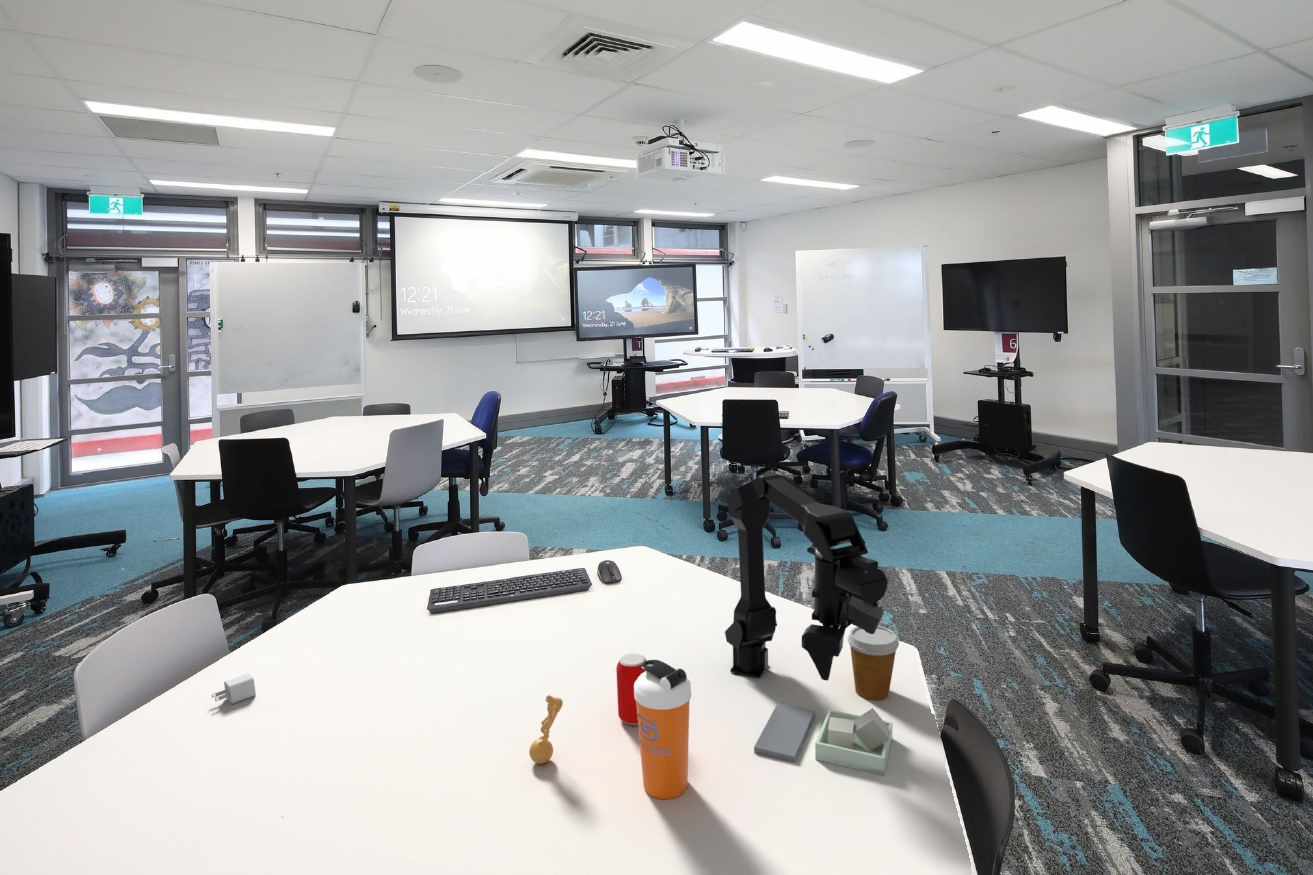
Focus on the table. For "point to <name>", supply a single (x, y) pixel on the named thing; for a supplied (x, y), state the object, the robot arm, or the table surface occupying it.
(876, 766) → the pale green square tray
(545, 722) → the figurine
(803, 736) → the slate board
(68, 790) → the table surface
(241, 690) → the usb wall charger
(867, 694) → the disposable coffee cup
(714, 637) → the table surface
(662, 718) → the shaker bottle
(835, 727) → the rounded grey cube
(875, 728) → the grey stone cube
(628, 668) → the beverage can
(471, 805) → the table surface
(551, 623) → the table surface
